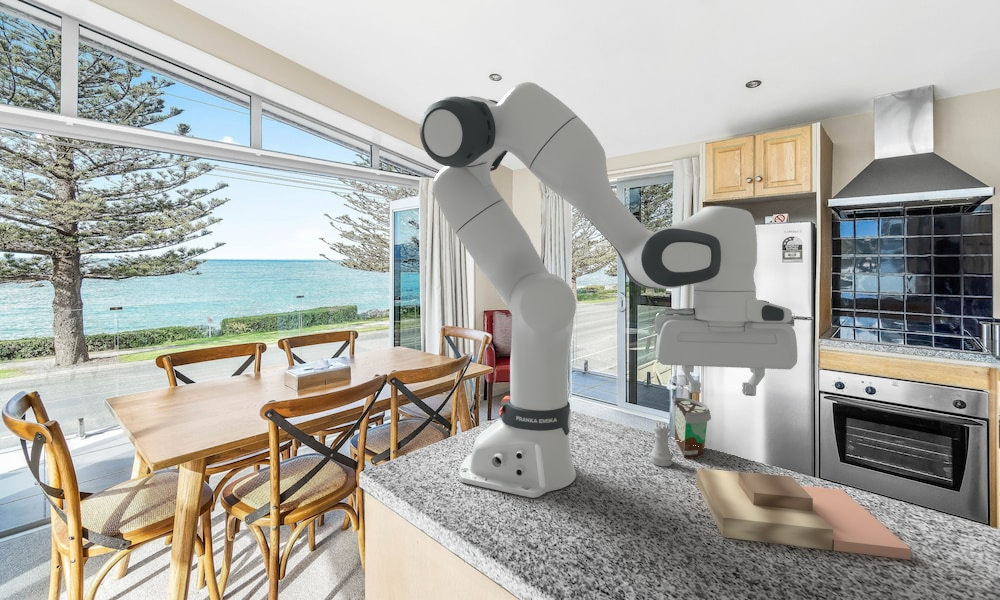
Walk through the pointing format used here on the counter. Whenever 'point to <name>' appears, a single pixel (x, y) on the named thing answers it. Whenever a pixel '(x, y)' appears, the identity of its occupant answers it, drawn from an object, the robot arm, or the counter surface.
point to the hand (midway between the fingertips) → (721, 393)
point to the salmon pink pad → (855, 525)
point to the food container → (690, 426)
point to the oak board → (759, 515)
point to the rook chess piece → (661, 446)
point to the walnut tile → (774, 491)
